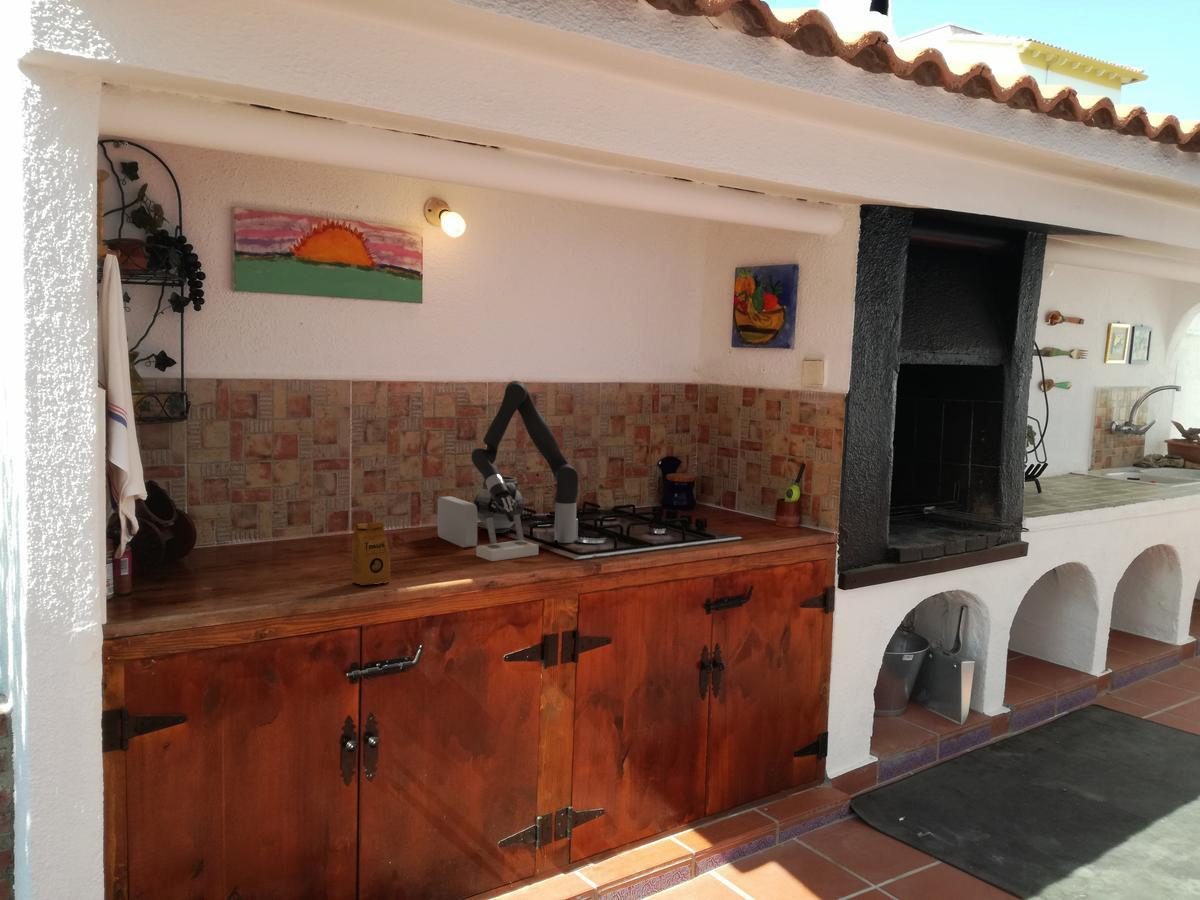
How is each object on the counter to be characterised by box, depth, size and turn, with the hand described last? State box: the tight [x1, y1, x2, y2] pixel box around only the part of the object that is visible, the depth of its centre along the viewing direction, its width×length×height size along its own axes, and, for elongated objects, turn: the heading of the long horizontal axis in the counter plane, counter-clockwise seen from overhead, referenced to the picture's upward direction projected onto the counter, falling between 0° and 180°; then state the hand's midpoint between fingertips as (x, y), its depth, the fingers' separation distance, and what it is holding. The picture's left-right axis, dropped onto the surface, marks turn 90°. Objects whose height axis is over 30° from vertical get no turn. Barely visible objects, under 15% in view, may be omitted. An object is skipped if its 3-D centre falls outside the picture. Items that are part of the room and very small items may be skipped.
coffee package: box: [351, 520, 391, 586], centre depth 338 cm, size 10×12×22 cm
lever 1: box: [484, 512, 498, 544], centre depth 386 cm, size 3×3×12 cm
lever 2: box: [511, 509, 525, 541], centre depth 394 cm, size 3×3×12 cm
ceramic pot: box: [473, 475, 525, 534], centre depth 438 cm, size 29×23×25 cm
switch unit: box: [475, 539, 539, 562], centre depth 389 cm, size 22×12×4 cm, turn 128°
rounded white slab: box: [437, 495, 478, 548], centre depth 413 cm, size 29×8×18 cm, turn 33°
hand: (512, 520), depth 397 cm, fingers closed
